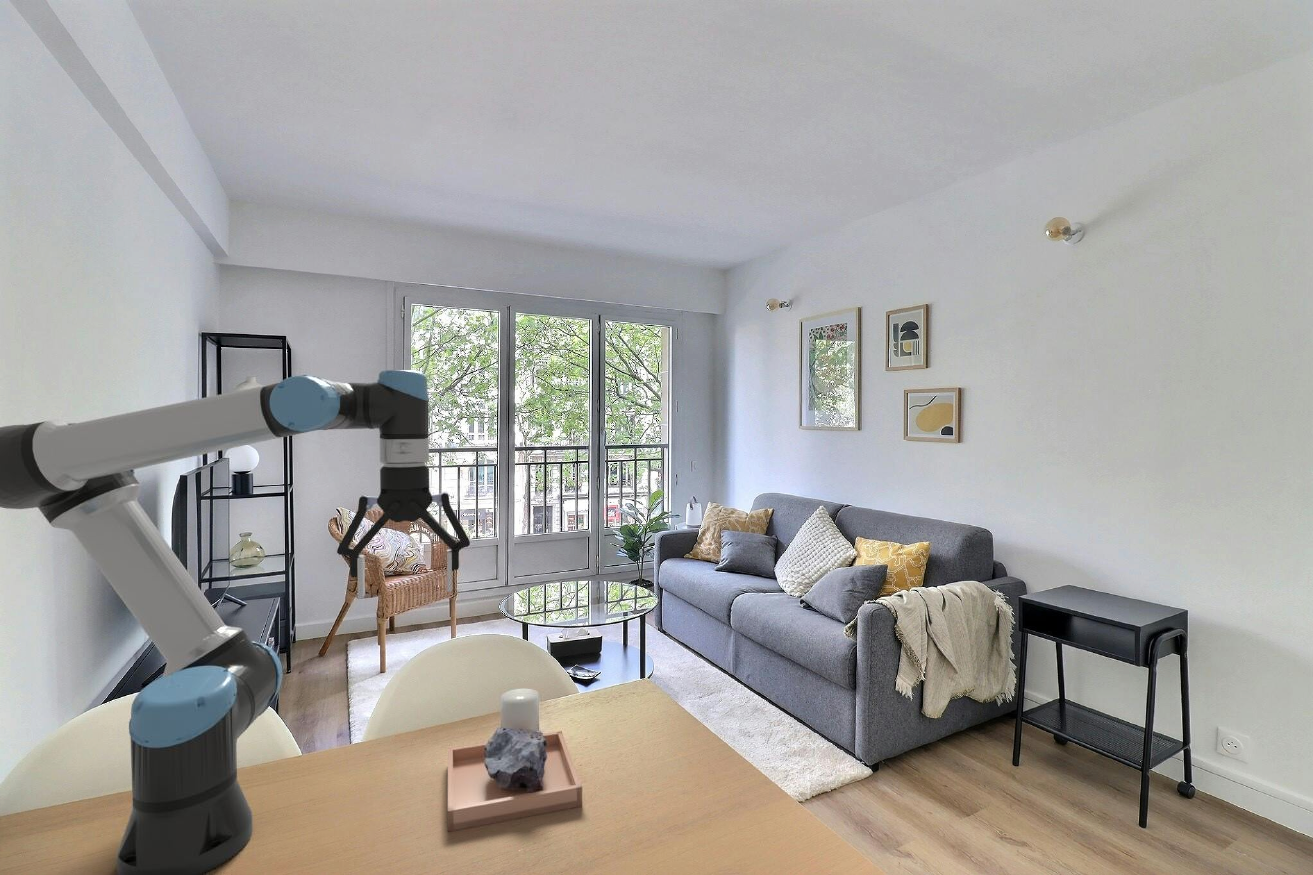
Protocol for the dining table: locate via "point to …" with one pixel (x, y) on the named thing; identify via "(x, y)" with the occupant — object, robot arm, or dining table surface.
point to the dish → (486, 803)
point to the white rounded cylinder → (520, 709)
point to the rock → (516, 759)
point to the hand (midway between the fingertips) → (406, 593)
